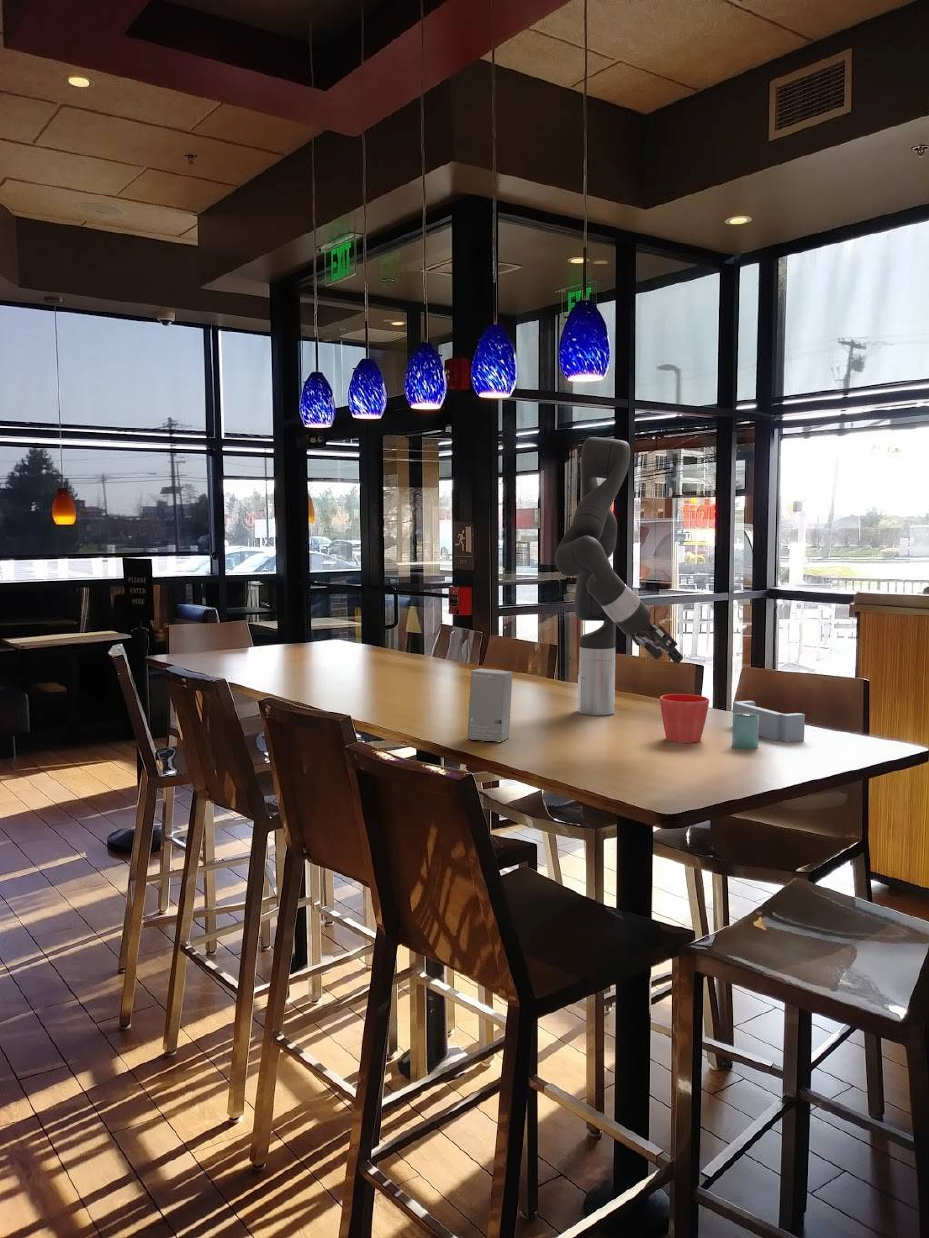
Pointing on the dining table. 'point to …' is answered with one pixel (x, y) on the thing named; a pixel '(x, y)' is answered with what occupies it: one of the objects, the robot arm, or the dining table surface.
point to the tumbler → (745, 730)
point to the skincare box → (489, 705)
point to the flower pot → (684, 717)
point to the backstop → (774, 722)
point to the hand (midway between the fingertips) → (669, 658)
